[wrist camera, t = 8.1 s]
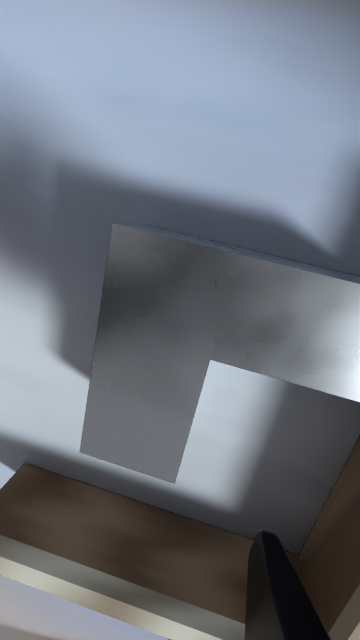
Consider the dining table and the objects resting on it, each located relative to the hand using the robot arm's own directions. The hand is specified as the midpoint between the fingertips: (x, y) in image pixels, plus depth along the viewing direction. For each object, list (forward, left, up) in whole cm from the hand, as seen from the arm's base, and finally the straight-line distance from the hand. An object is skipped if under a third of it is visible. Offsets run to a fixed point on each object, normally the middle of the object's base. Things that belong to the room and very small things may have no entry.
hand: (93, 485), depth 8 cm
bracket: (-3, -2, -7) cm, 8 cm away
